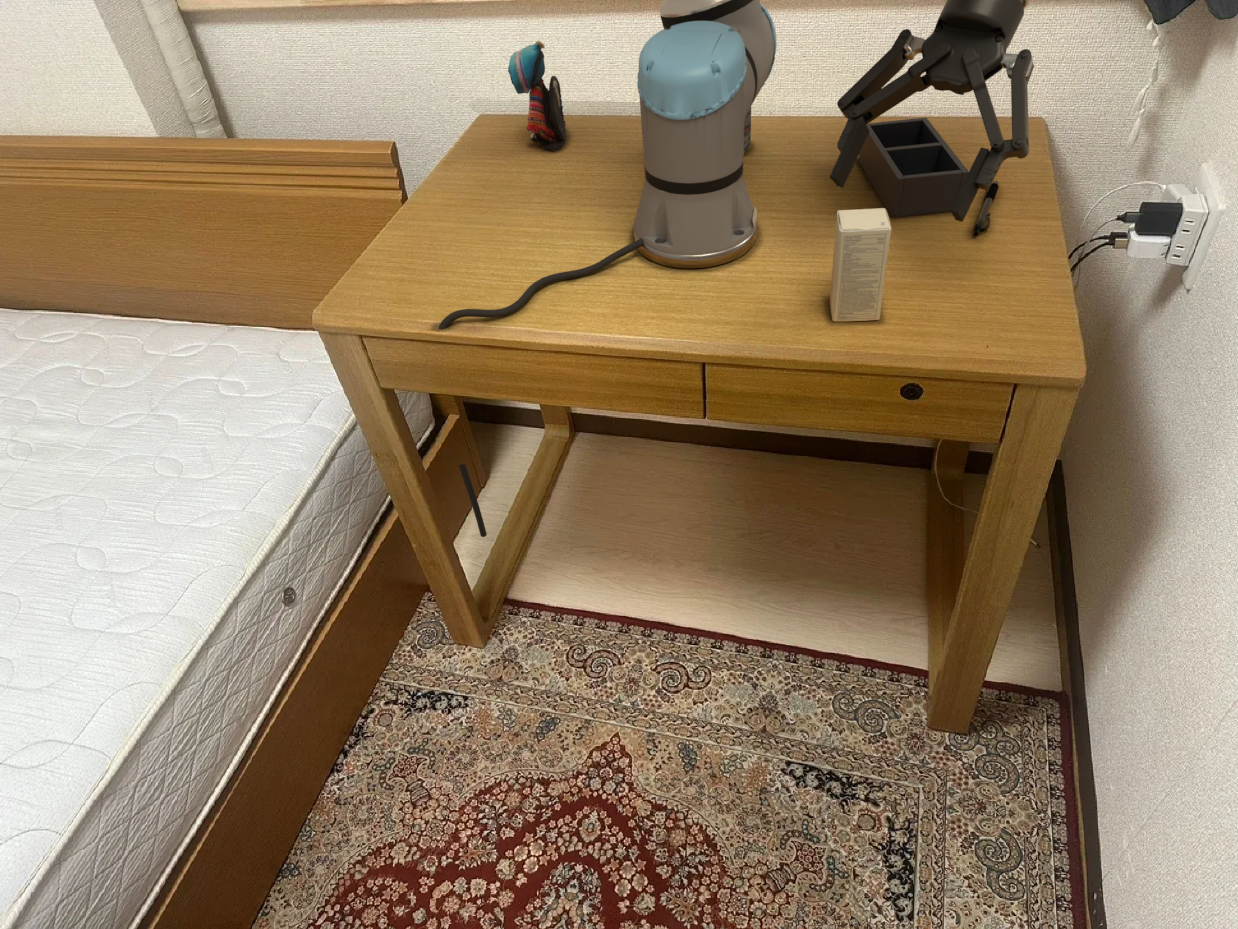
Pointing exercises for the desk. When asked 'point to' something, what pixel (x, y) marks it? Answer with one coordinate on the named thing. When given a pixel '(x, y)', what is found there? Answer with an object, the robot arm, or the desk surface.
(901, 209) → the holder
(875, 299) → the box
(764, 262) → the desk surface
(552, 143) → the figurine
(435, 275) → the desk surface
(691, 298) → the desk surface
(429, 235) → the desk surface
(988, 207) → the pen
